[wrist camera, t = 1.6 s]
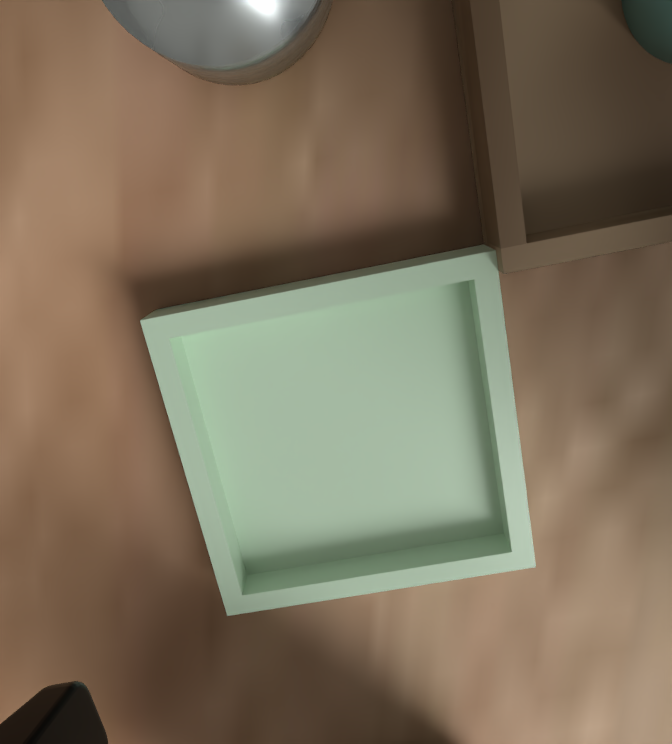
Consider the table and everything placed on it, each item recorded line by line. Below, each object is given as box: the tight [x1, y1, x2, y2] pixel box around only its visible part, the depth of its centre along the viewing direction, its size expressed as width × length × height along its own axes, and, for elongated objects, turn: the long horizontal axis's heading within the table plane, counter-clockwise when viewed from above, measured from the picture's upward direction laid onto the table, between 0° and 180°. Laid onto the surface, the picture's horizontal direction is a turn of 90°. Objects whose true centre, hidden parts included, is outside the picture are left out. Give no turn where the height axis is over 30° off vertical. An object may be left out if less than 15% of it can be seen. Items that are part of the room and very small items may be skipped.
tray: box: [140, 244, 536, 616], centre depth 18 cm, size 9×9×1 cm
